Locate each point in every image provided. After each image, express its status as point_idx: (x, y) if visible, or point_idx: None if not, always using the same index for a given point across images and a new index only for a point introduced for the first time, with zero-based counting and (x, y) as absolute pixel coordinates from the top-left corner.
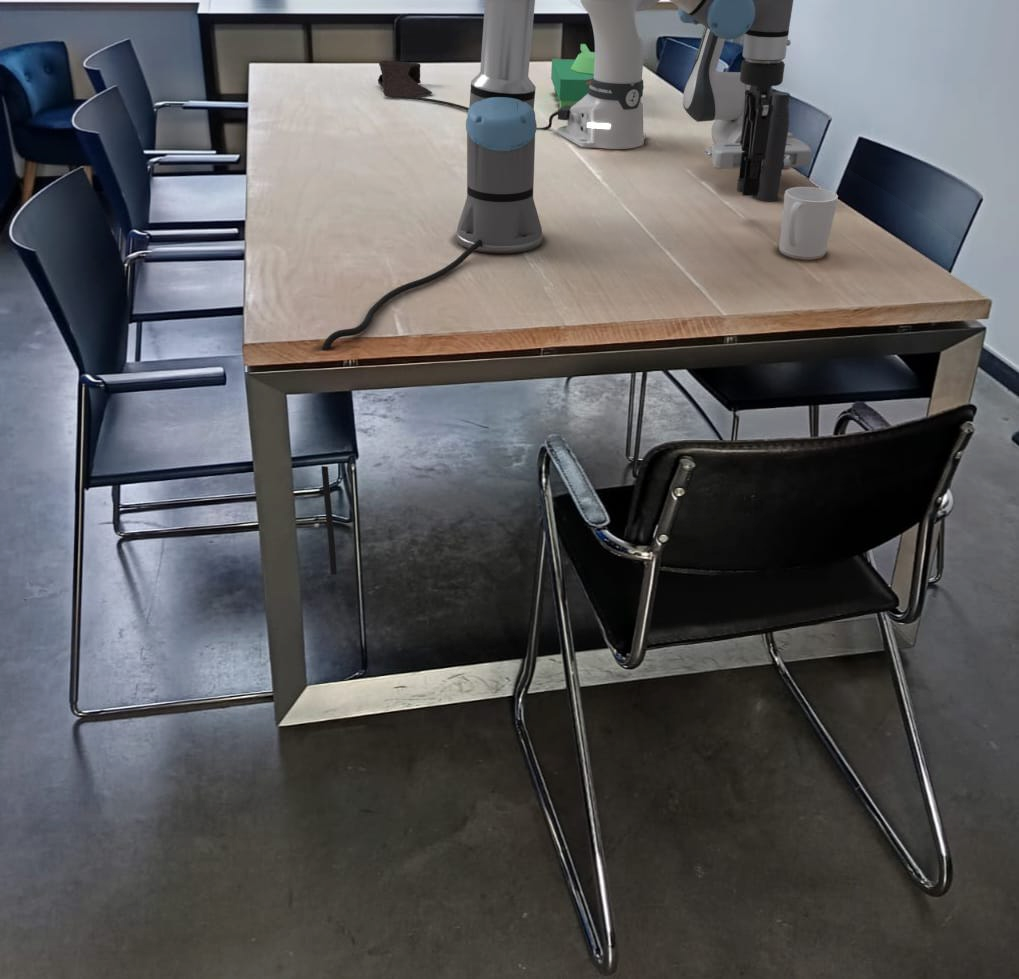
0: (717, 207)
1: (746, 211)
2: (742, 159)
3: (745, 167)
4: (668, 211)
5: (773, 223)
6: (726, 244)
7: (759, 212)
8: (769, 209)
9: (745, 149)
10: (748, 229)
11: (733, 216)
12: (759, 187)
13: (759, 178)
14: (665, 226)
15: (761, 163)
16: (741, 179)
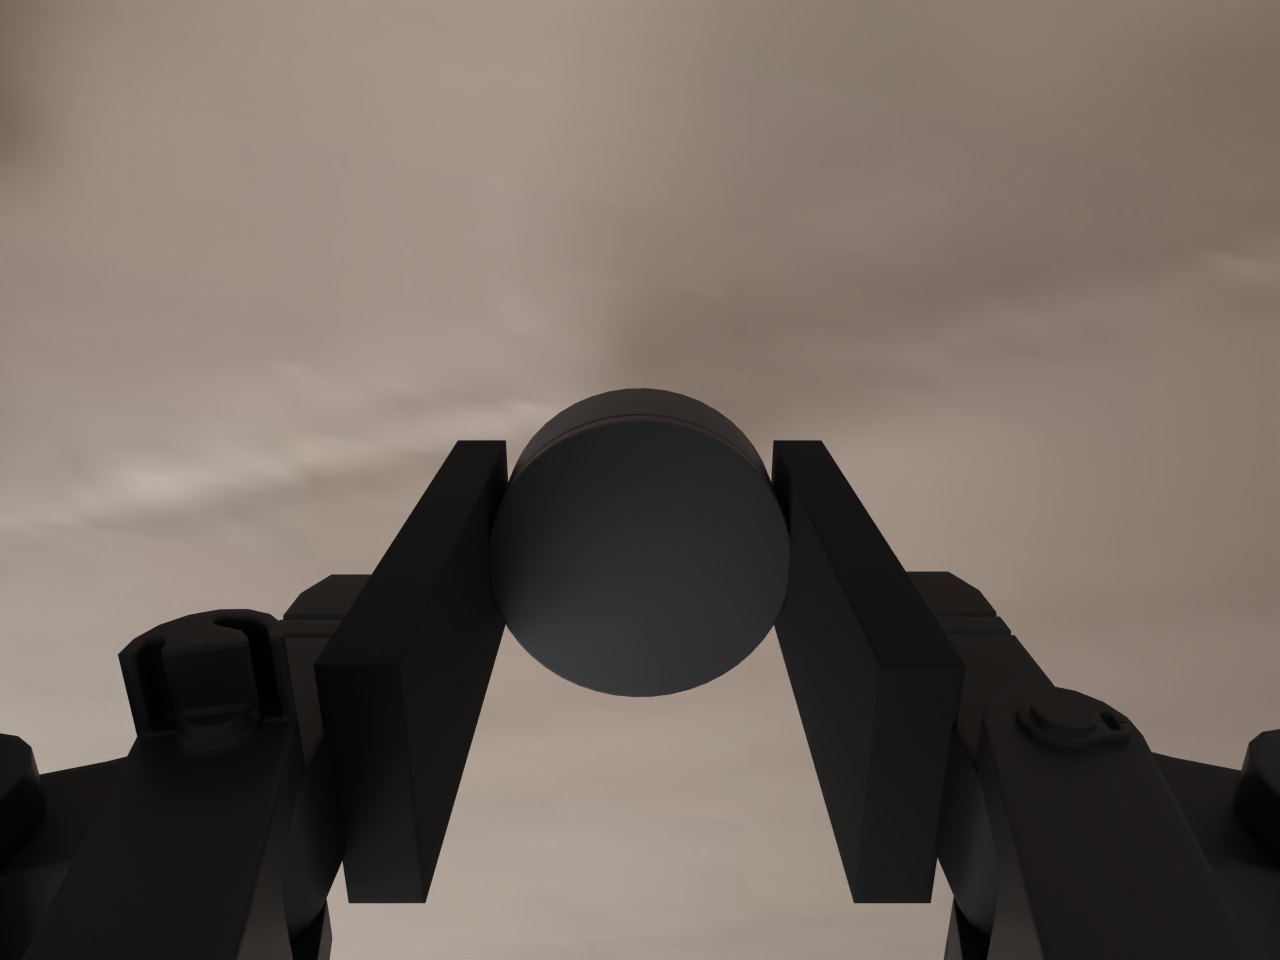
0: (297, 573)
1: (366, 351)
2: (445, 808)
3: (471, 677)
4: (463, 903)
5: (699, 163)
6: (1207, 640)
7: (376, 235)
8: (259, 112)
9: (327, 894)
10: (868, 422)
11: None
12: (721, 426)
13: (867, 520)
14: (796, 949)
15: (946, 635)
16: (586, 649)
